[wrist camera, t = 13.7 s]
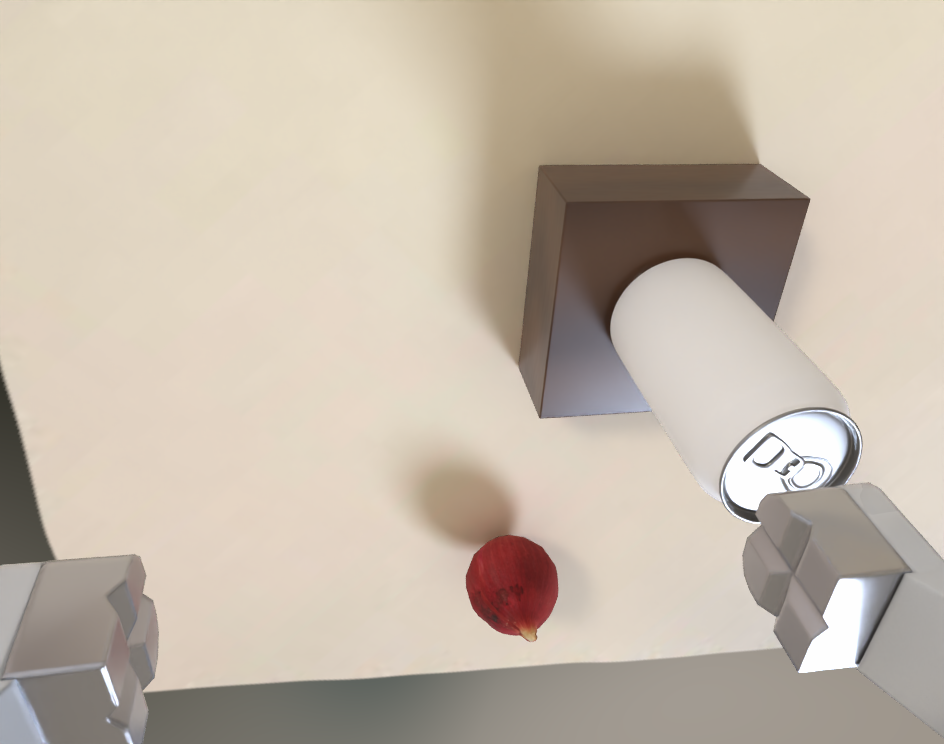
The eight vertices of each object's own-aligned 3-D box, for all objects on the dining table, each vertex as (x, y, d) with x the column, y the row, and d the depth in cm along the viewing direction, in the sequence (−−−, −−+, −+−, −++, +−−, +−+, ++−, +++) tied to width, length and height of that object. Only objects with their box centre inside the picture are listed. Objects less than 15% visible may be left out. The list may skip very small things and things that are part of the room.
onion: (449, 569, 54) (469, 669, 47) (469, 507, 51) (493, 604, 44) (528, 573, 56) (559, 670, 49) (552, 512, 53) (588, 607, 46)
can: (669, 386, 42) (782, 552, 32) (580, 333, 39) (674, 498, 29) (757, 293, 40) (906, 441, 30) (669, 229, 37) (803, 370, 27)
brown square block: (538, 164, 39) (566, 202, 35) (760, 163, 41) (811, 198, 37) (518, 367, 46) (539, 419, 42) (710, 357, 48) (749, 405, 44)
